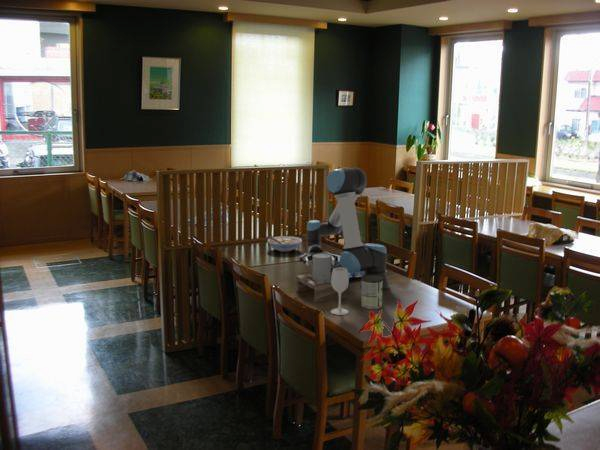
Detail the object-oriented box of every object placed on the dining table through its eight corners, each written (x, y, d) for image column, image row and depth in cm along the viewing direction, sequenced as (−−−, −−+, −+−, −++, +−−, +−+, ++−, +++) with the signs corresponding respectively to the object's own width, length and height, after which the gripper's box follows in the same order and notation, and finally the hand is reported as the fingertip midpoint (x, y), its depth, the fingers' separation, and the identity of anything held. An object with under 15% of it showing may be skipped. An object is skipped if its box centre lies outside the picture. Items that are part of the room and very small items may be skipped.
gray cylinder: (329, 282, 319) (329, 258, 316) (310, 280, 321) (310, 257, 318) (332, 276, 328) (332, 253, 326) (314, 275, 330) (314, 252, 327)
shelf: (347, 297, 320) (347, 282, 319) (316, 302, 312) (316, 286, 311) (326, 286, 339) (326, 271, 338) (296, 290, 332) (296, 275, 330)
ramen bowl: (308, 253, 410) (308, 241, 408) (274, 256, 402) (274, 244, 400) (294, 245, 433) (294, 233, 431) (262, 248, 424) (262, 236, 423)
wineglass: (337, 308, 304) (338, 265, 300) (352, 311, 299) (353, 268, 294) (326, 312, 297) (327, 269, 293) (341, 316, 292) (342, 272, 288)
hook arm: (334, 285, 319) (334, 281, 319) (323, 287, 317) (323, 283, 316) (319, 278, 333) (319, 274, 332) (309, 279, 330) (309, 276, 330)
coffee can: (359, 302, 313) (360, 274, 310) (380, 302, 313) (381, 274, 310) (362, 309, 303) (362, 280, 300) (383, 308, 303) (384, 280, 300)
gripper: (338, 258, 347) (344, 269, 326) (292, 259, 344) (296, 270, 324) (338, 245, 345) (344, 255, 325) (292, 246, 343) (296, 256, 322)
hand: (320, 262), depth 324 cm, fingers open, 13 cm apart
